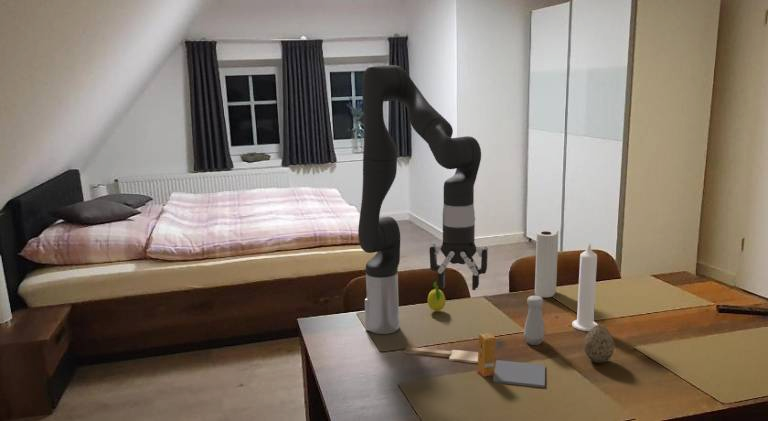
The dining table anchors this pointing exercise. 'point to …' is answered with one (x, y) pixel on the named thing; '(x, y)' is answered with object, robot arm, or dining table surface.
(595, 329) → the decorative egg
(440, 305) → the lemon
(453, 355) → the turner
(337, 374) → the dining table surface
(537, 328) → the salt shaker
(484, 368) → the supplement box
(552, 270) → the paper towel roll
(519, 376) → the mat
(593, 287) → the candle
